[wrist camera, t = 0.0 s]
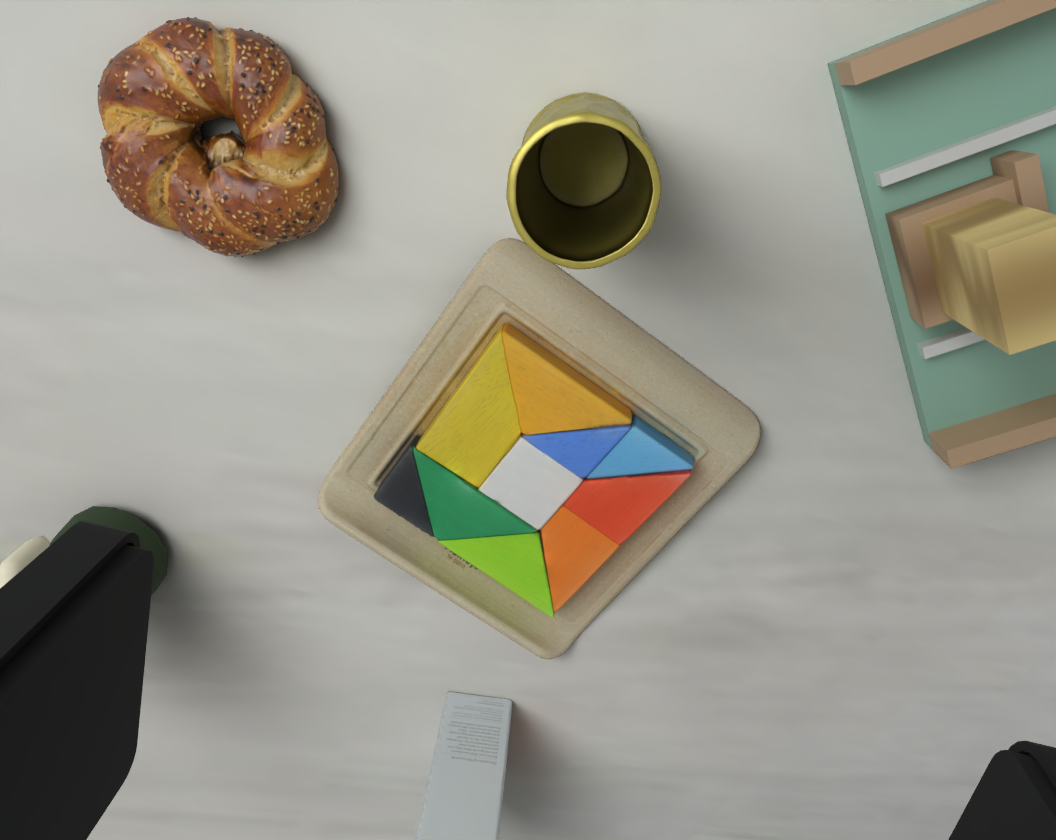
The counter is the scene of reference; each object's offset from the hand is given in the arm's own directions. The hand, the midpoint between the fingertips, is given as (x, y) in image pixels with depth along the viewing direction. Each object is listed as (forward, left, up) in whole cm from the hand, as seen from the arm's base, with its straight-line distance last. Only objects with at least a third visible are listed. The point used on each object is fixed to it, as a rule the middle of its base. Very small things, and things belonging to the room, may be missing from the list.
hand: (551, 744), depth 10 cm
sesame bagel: (-10, -14, -38) cm, 42 cm away
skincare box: (+27, -17, -38) cm, 49 cm away
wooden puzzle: (+11, -7, -38) cm, 40 cm away
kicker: (+7, +17, -36) cm, 40 cm away
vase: (-3, +1, -38) cm, 38 cm away
